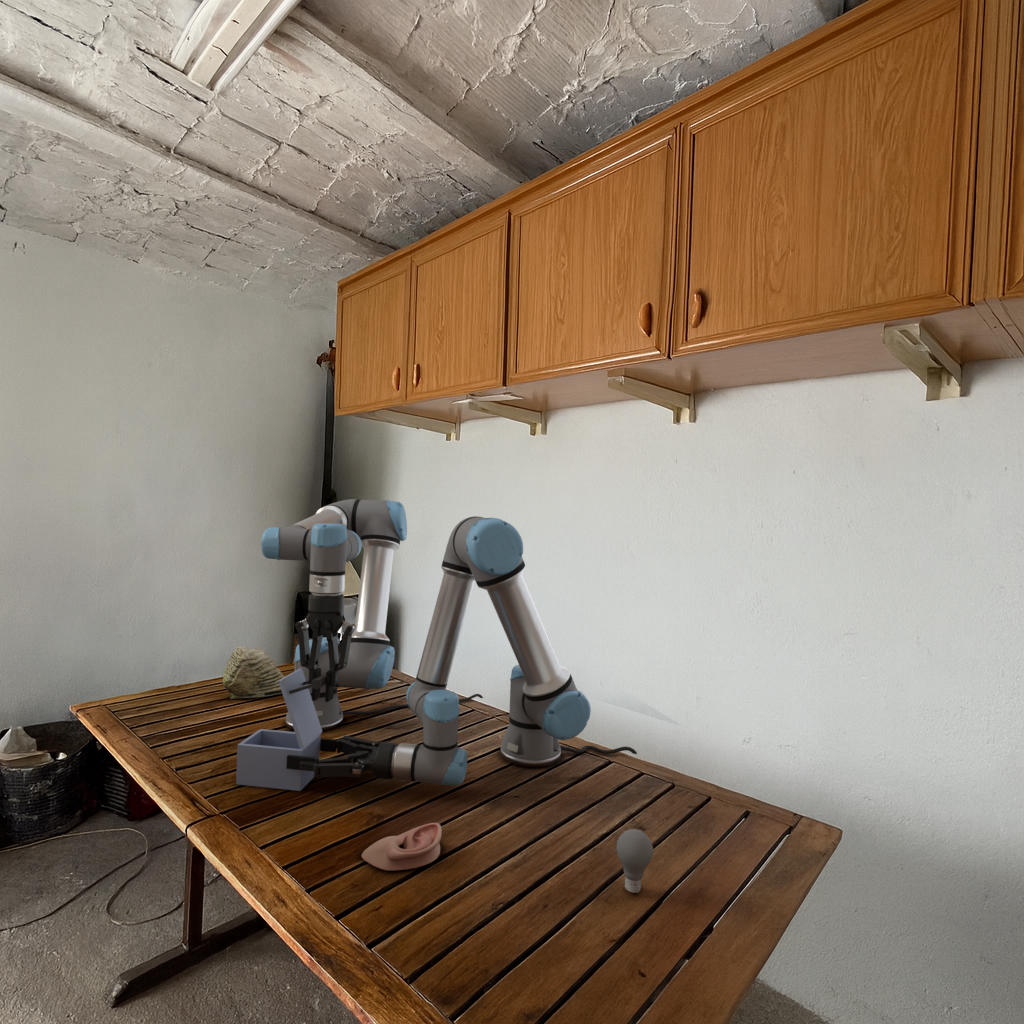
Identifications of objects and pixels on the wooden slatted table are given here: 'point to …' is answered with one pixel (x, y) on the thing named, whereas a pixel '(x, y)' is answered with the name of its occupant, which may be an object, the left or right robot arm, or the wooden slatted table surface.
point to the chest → (273, 760)
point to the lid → (302, 705)
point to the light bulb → (634, 857)
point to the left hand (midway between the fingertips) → (322, 699)
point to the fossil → (251, 674)
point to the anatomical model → (406, 849)
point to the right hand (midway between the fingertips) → (298, 752)
